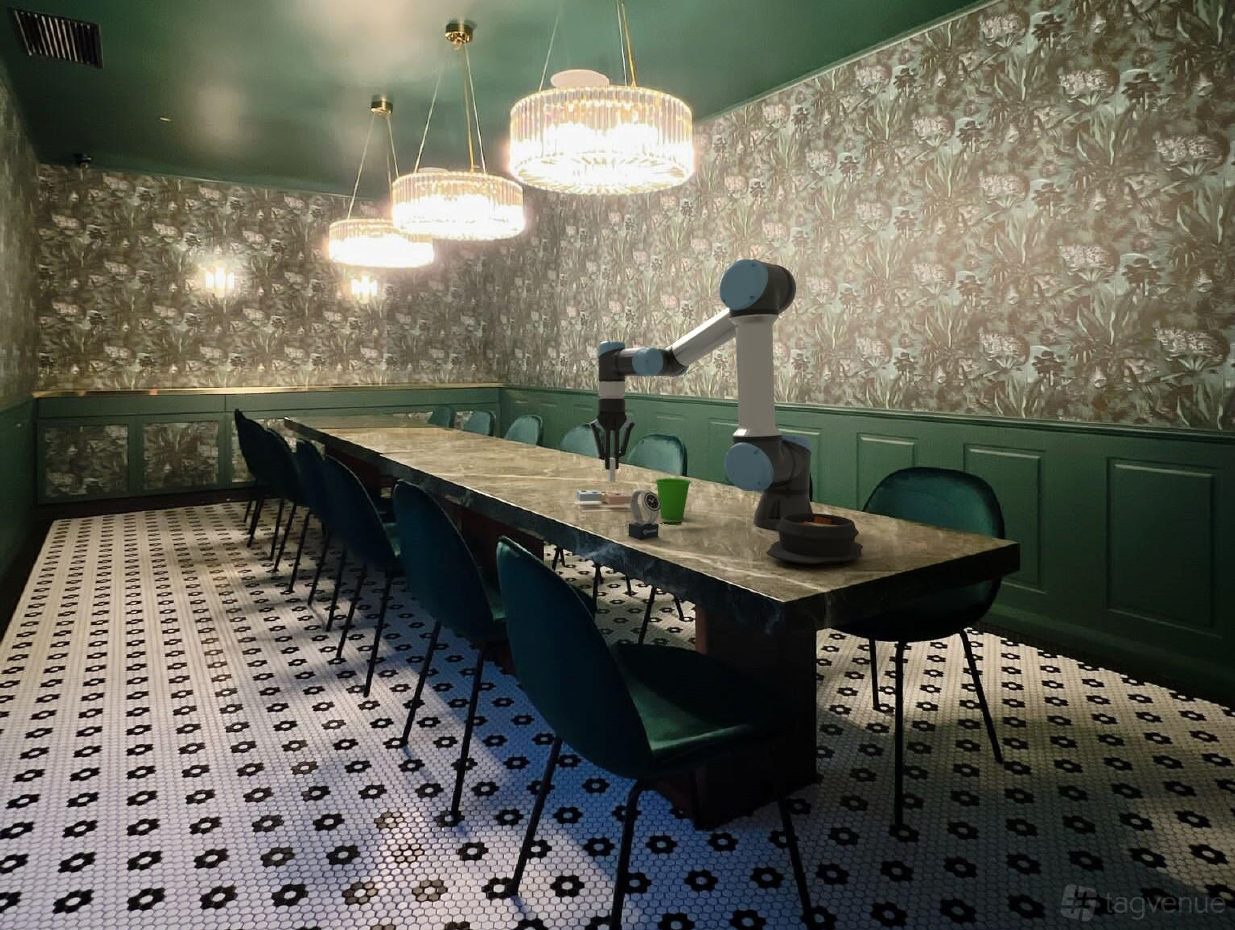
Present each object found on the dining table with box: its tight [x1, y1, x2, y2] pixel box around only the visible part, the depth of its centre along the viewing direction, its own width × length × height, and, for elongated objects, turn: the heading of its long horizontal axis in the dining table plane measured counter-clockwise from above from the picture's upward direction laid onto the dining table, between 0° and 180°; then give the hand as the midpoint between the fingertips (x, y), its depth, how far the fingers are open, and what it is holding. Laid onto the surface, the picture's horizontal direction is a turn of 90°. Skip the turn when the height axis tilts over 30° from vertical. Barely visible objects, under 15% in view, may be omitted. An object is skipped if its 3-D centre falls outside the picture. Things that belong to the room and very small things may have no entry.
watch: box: [628, 489, 661, 541], centre depth 175 cm, size 6×8×11 cm
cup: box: [654, 477, 692, 526], centre depth 191 cm, size 9×9×11 cm
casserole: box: [765, 512, 864, 565], centre depth 158 cm, size 25×19×8 cm
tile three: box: [600, 490, 621, 502], centre depth 214 cm, size 6×6×2 cm
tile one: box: [605, 492, 632, 504], centre depth 204 cm, size 6×6×2 cm
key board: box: [571, 498, 631, 513], centre depth 208 cm, size 19×15×2 cm
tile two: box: [576, 489, 602, 501], centre depth 207 cm, size 6×6×2 cm
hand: (611, 481), depth 213 cm, fingers closed
